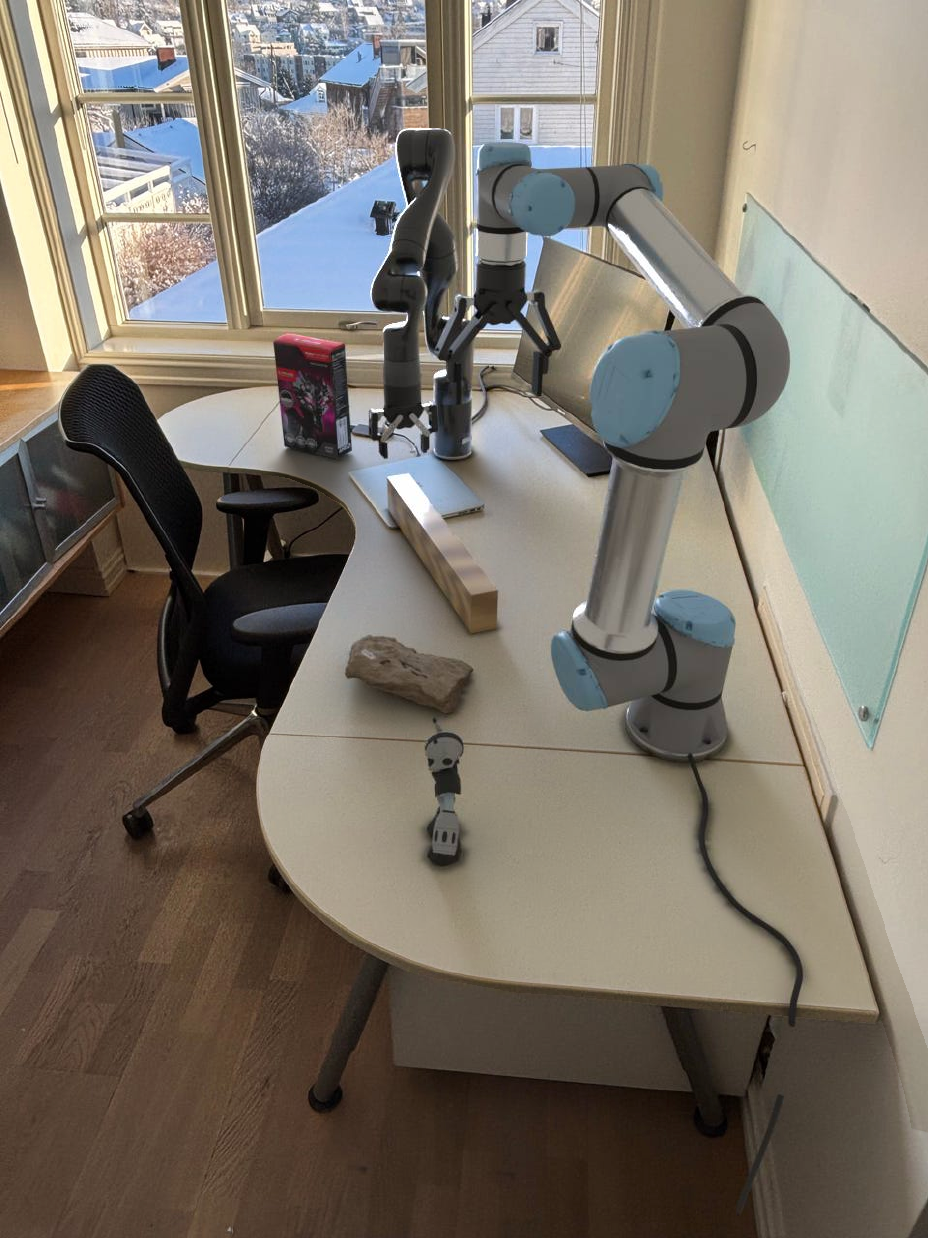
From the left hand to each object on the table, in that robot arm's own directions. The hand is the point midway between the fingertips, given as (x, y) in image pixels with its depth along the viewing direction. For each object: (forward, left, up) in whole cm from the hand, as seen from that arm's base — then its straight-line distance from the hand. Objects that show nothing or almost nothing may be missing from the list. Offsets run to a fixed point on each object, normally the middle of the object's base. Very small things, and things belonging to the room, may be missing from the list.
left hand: (404, 454), depth 192 cm
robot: (+87, +34, -15) cm, 95 cm away
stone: (+56, +18, -15) cm, 61 cm away
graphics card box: (-29, -33, -15) cm, 46 cm away
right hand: (+30, +26, +26) cm, 47 cm away
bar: (+16, +12, -15) cm, 25 cm away
